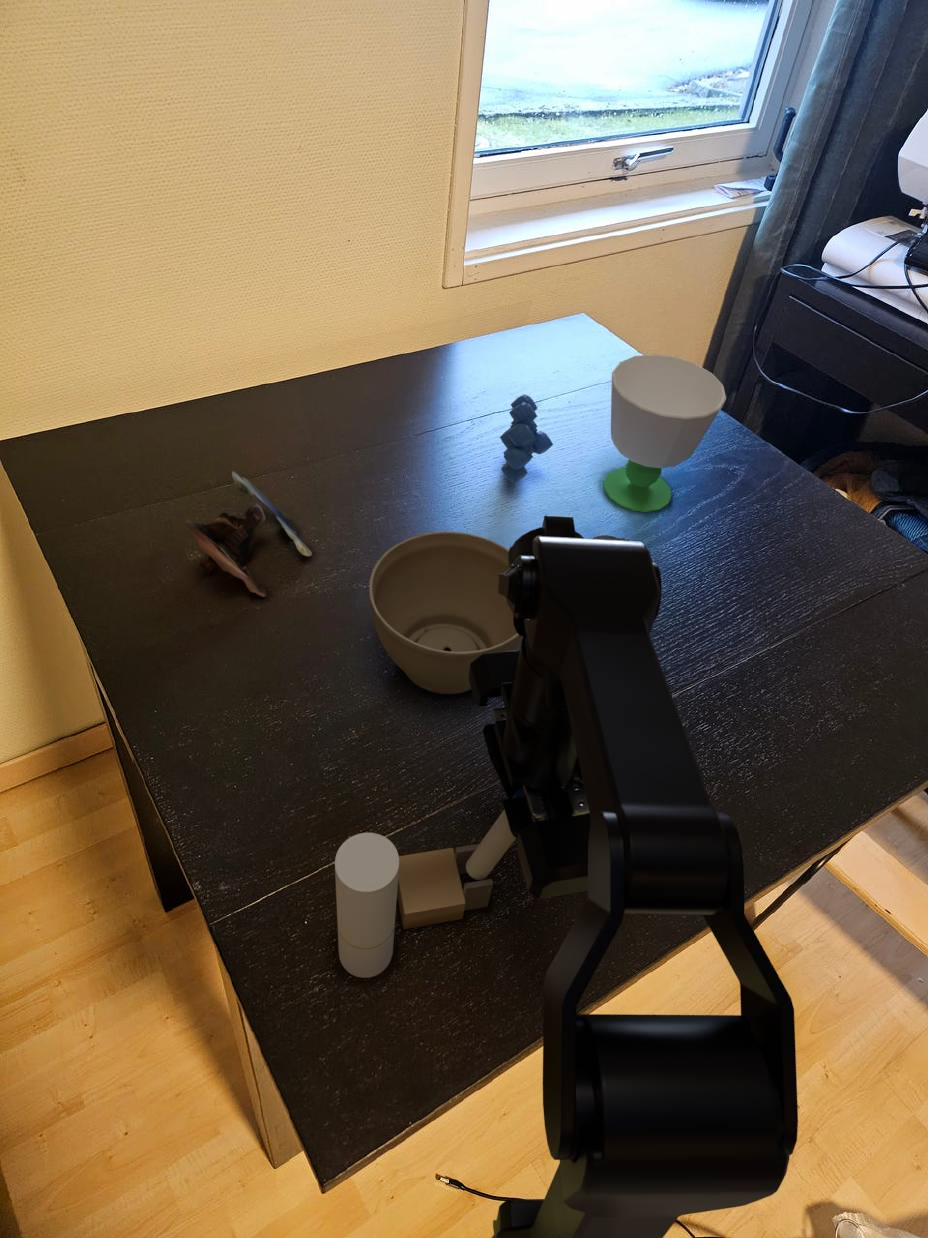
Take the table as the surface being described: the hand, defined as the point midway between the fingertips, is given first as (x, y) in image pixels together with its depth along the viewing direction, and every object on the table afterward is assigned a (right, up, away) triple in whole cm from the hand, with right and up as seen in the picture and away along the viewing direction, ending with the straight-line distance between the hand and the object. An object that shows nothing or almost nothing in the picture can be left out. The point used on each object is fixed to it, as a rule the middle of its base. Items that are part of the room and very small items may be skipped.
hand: (523, 822), depth 66 cm
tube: (-12, -11, +3) cm, 17 cm away
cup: (+18, +32, +47) cm, 60 cm away
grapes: (+3, +34, +46) cm, 57 cm away
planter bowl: (-7, +11, +24) cm, 27 cm away
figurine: (-28, +22, +32) cm, 48 cm away
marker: (-1, -1, +1) cm, 2 cm away
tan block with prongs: (-7, -8, +6) cm, 12 cm away
